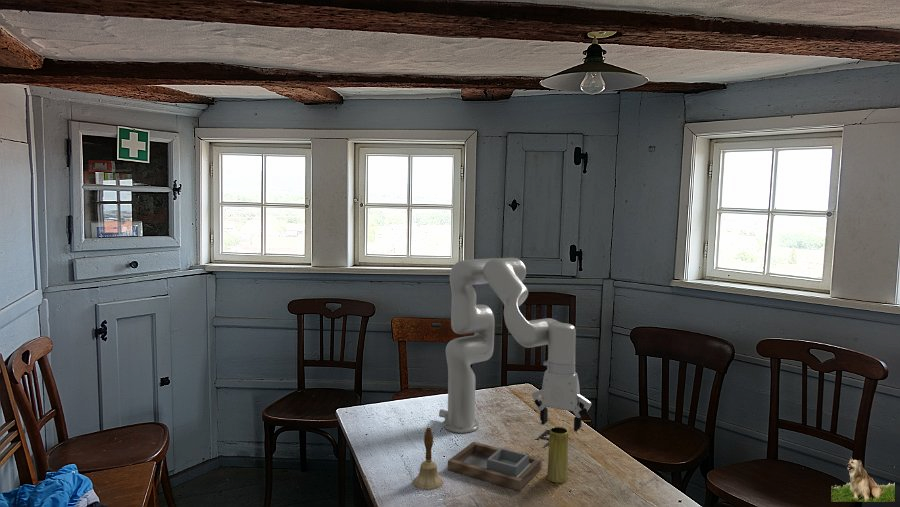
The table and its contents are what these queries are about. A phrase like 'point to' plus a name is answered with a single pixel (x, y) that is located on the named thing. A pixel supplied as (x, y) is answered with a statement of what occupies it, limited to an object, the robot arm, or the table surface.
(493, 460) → the square serving tray
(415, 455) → the table surface
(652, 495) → the table surface
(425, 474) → the hand bell
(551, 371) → the robot arm
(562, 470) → the vase
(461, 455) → the open wooden box
